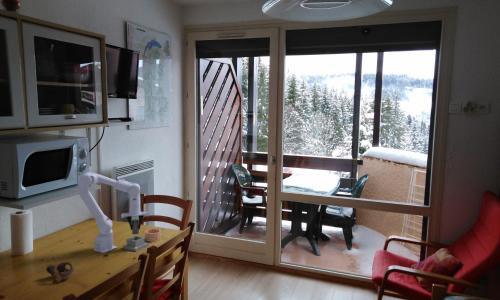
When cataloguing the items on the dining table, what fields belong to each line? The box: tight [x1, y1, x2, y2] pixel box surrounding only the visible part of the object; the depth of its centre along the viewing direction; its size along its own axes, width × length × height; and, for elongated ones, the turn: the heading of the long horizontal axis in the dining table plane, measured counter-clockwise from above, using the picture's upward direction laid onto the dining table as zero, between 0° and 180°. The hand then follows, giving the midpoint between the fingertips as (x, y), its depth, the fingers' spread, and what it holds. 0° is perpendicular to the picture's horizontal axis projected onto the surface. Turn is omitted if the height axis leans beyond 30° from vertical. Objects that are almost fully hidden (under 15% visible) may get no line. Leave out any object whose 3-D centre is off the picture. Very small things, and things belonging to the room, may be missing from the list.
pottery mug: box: [45, 260, 75, 283], centre depth 169 cm, size 12×10×8 cm
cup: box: [144, 228, 162, 243], centre depth 219 cm, size 9×9×5 cm
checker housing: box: [122, 235, 150, 252], centre depth 207 cm, size 10×10×5 cm
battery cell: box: [131, 218, 140, 235], centre depth 206 cm, size 4×4×8 cm
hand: (135, 229), depth 206 cm, fingers closed on battery cell, 4 cm apart
